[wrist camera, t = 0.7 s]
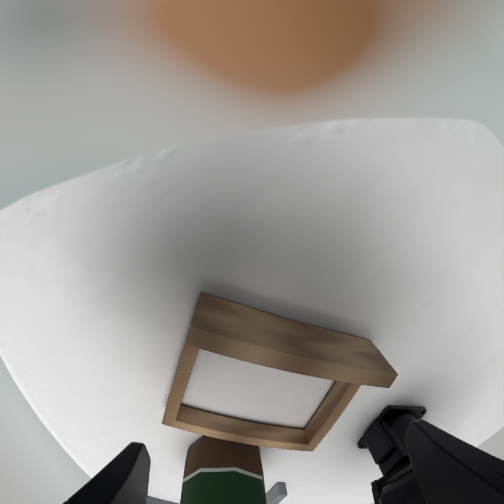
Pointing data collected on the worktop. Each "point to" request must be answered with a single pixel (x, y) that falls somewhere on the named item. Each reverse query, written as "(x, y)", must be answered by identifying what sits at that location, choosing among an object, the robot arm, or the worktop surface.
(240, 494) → the beer bottle
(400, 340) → the worktop surface
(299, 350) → the brown wooden frame
